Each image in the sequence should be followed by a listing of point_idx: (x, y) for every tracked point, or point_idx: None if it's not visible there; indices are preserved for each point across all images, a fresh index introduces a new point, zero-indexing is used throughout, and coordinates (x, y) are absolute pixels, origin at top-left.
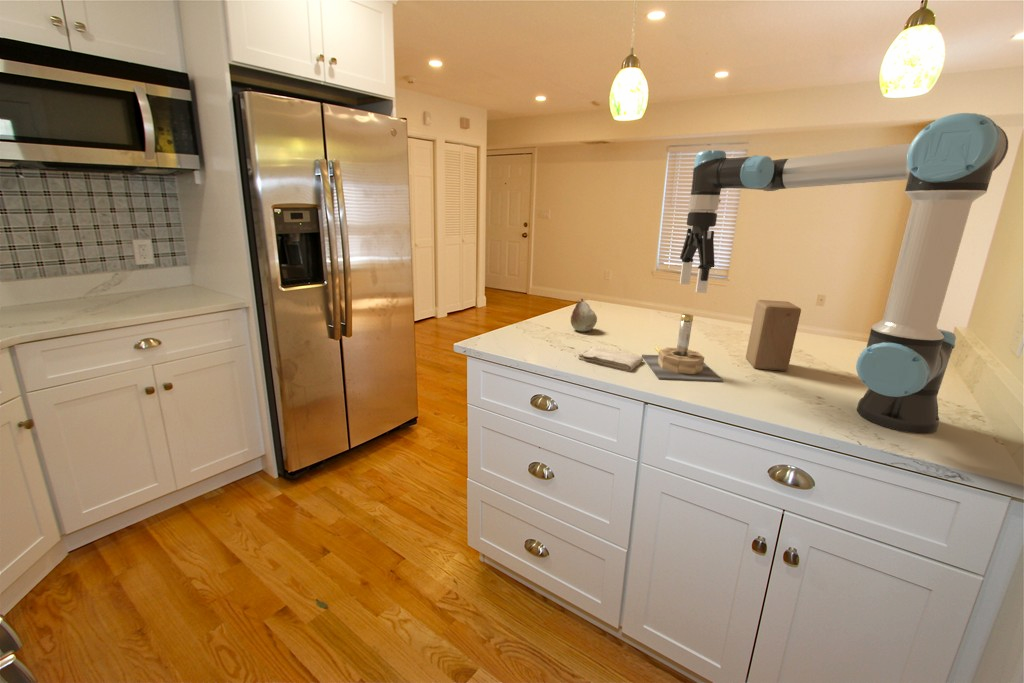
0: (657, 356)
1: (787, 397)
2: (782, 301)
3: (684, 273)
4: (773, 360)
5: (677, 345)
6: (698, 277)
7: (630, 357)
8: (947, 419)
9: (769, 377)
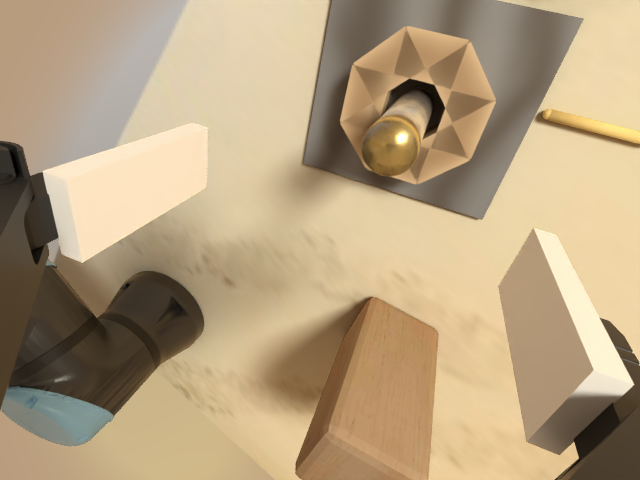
0: (534, 78)
1: (227, 232)
2: None
3: (539, 300)
4: (349, 333)
5: (414, 97)
6: (114, 148)
7: None
8: (174, 359)
9: (321, 282)
